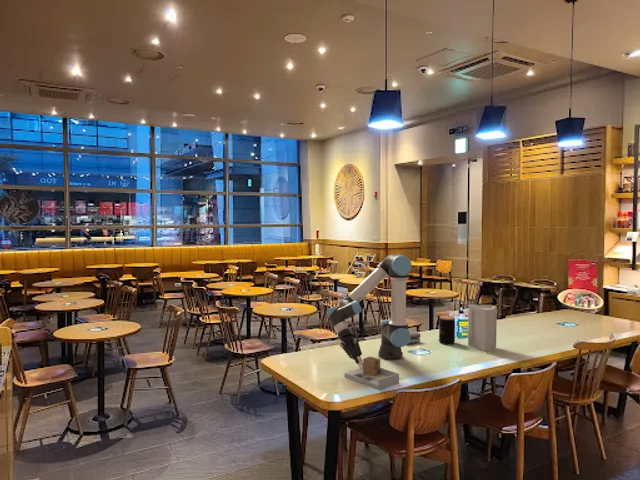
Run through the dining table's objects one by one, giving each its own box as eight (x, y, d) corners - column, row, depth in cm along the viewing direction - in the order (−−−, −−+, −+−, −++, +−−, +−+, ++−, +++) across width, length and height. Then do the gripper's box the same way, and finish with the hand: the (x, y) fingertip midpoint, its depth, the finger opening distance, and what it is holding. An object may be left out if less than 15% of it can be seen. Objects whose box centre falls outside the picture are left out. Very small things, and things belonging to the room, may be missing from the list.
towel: (405, 345, 317) (405, 334, 317) (387, 339, 333) (387, 329, 332) (421, 342, 325) (421, 331, 325) (403, 337, 341) (403, 326, 340)
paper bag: (504, 351, 303) (505, 308, 302) (485, 353, 298) (486, 309, 297) (485, 344, 321) (486, 303, 320) (467, 345, 316) (468, 304, 315)
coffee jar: (438, 340, 330) (438, 315, 329) (453, 341, 328) (453, 315, 328) (439, 344, 319) (440, 318, 319) (455, 345, 318) (456, 319, 317)
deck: (363, 371, 261) (363, 362, 261) (398, 383, 241) (399, 373, 241) (344, 376, 252) (344, 367, 252) (379, 389, 232) (379, 379, 232)
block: (369, 371, 255) (369, 356, 255) (380, 373, 250) (380, 359, 250) (363, 373, 250) (363, 358, 250) (373, 376, 246) (373, 361, 245)
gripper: (348, 333, 271) (367, 369, 258) (331, 336, 263) (350, 373, 250) (354, 326, 266) (374, 362, 254) (337, 329, 258) (357, 366, 246)
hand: (362, 368), depth 252 cm, fingers closed
